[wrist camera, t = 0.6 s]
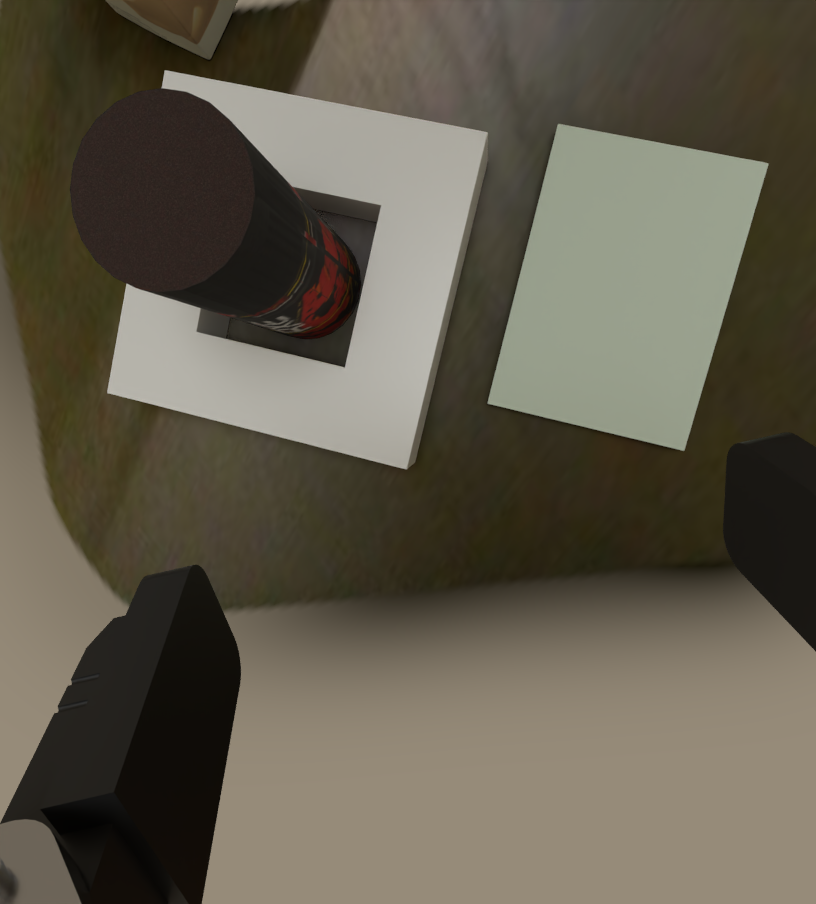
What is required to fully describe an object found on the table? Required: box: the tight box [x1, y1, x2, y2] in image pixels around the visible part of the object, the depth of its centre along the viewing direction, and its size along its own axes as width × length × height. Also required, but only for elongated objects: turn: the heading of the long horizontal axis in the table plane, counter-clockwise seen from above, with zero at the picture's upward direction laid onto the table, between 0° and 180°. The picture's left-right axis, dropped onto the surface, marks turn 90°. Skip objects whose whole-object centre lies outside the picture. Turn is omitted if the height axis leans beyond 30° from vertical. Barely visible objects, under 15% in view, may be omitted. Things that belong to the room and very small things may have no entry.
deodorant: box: [70, 88, 361, 339], centre depth 26 cm, size 6×6×15 cm
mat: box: [487, 124, 769, 451], centre depth 31 cm, size 14×10×1 cm
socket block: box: [107, 70, 488, 470], centre depth 32 cm, size 16×16×4 cm
